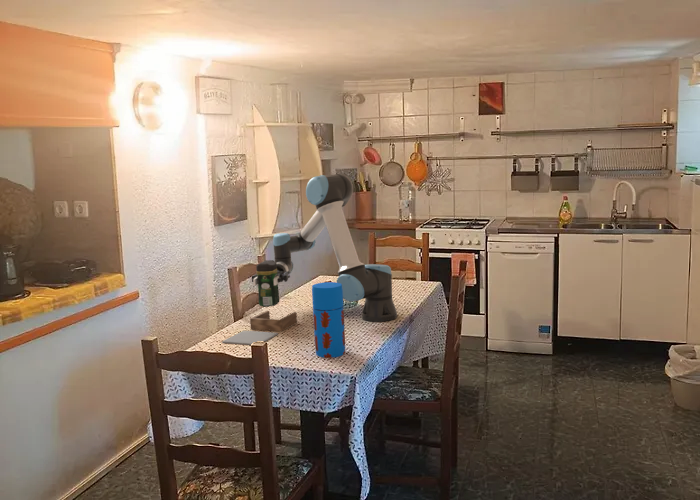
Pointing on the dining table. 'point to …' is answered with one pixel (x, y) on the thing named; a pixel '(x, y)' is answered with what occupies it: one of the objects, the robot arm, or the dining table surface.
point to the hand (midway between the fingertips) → (264, 282)
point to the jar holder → (272, 322)
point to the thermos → (328, 319)
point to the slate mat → (249, 337)
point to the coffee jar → (267, 283)
